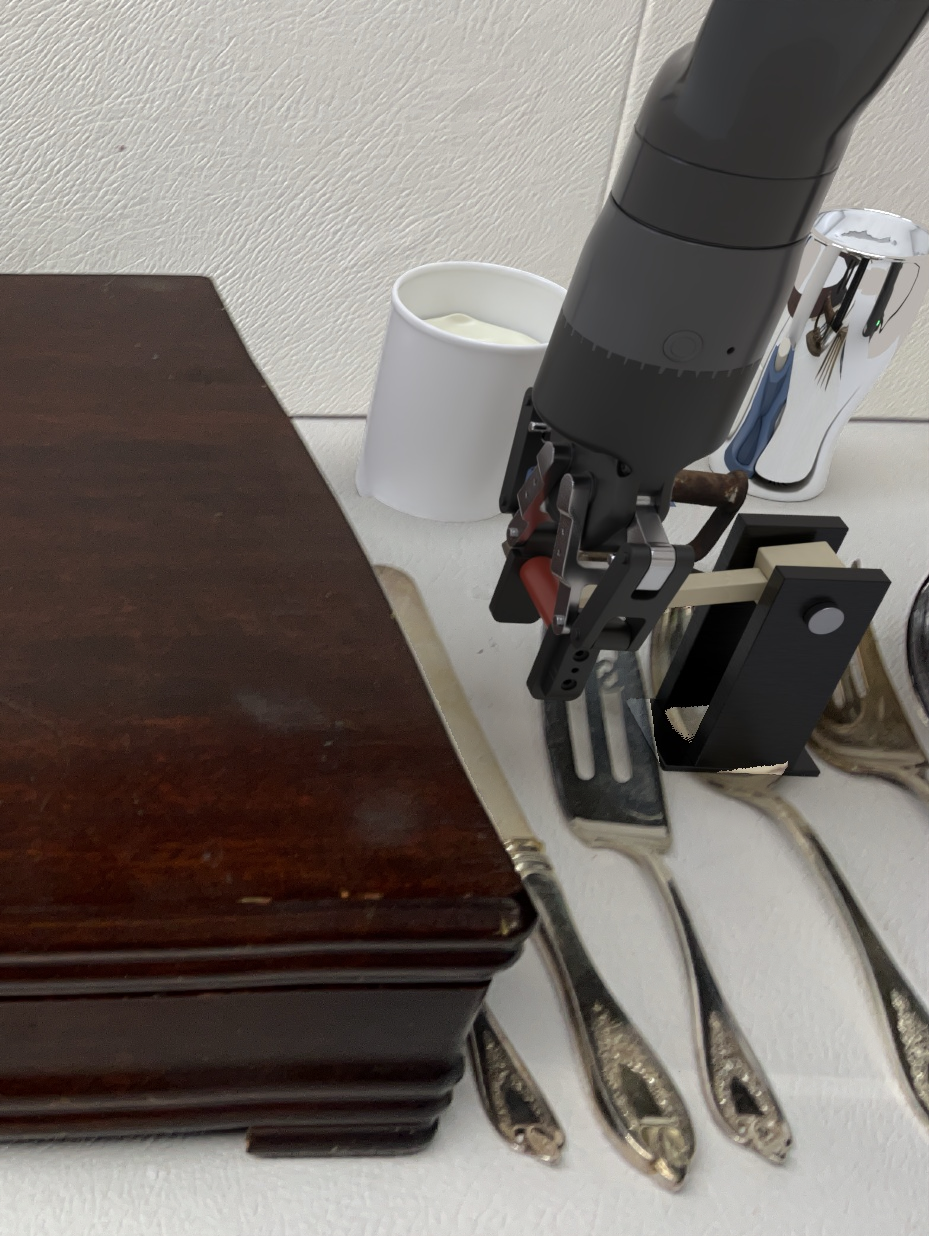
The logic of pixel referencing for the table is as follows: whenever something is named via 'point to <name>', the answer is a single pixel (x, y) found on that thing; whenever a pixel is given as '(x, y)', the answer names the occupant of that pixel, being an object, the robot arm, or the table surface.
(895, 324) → the beer glass
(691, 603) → the switch lever
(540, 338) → the candle holder
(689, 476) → the clothes iron
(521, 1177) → the table surface
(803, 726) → the switch bracket
